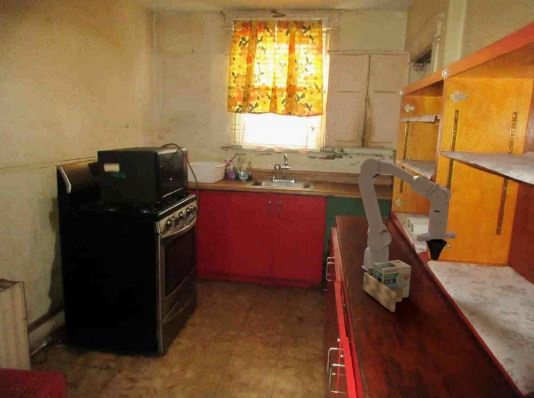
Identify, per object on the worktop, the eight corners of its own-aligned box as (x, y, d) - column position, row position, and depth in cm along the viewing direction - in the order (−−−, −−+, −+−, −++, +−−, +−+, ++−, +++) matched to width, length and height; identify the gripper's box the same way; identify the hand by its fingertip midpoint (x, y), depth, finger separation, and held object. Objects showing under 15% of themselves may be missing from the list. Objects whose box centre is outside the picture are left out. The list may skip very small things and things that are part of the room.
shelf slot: (363, 289, 130) (364, 267, 129) (381, 286, 132) (383, 265, 131) (391, 312, 114) (393, 287, 113) (412, 309, 116) (414, 284, 115)
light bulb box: (381, 301, 121) (384, 269, 119) (369, 292, 128) (371, 262, 126) (409, 297, 125) (412, 266, 123) (396, 288, 131) (398, 259, 129)
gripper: (428, 226, 124) (424, 265, 127) (464, 223, 128) (459, 261, 131) (414, 221, 131) (411, 258, 134) (448, 218, 135) (445, 254, 137)
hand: (434, 259), depth 133 cm, fingers closed
